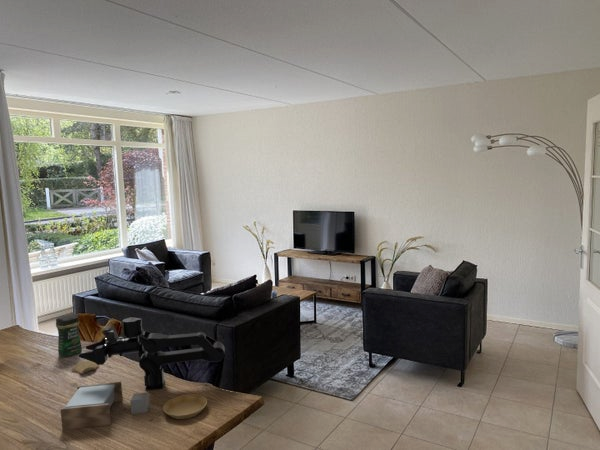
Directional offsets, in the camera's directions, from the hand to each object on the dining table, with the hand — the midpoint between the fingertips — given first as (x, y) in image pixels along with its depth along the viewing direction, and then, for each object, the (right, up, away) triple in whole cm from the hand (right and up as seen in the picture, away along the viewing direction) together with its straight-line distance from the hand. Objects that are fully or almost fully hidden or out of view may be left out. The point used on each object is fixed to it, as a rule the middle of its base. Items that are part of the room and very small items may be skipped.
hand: (82, 351), depth 175 cm
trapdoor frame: (+11, -18, -14) cm, 25 cm away
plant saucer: (+42, -17, -14) cm, 48 cm away
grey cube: (+26, -17, -12) cm, 33 cm away
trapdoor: (+10, -16, -14) cm, 24 cm away
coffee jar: (-26, -13, +43) cm, 51 cm away
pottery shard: (-9, -15, +24) cm, 29 cm away
